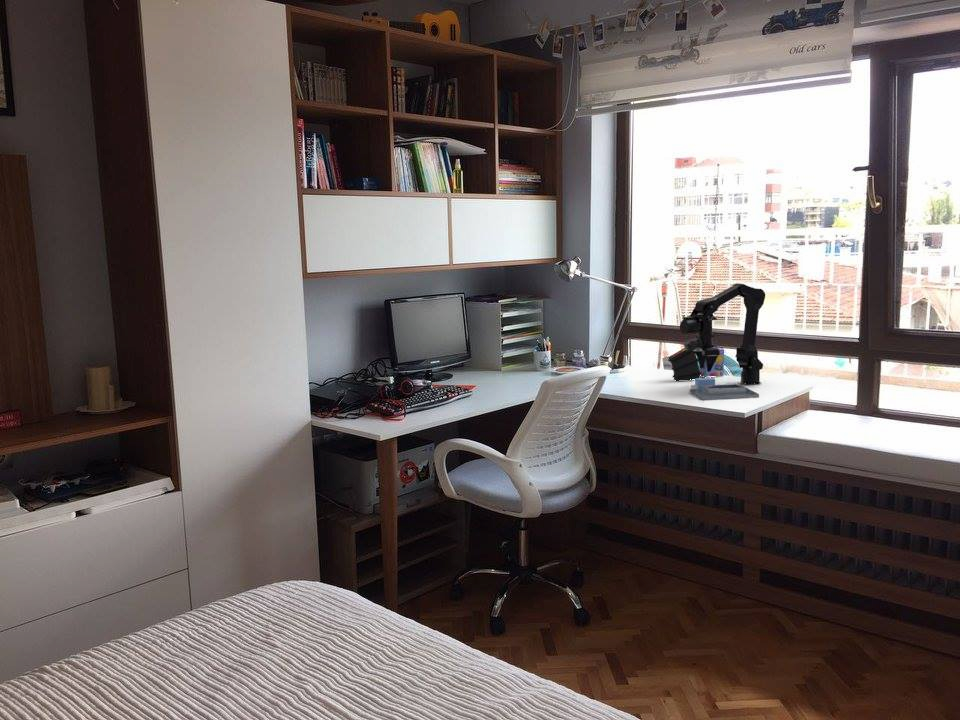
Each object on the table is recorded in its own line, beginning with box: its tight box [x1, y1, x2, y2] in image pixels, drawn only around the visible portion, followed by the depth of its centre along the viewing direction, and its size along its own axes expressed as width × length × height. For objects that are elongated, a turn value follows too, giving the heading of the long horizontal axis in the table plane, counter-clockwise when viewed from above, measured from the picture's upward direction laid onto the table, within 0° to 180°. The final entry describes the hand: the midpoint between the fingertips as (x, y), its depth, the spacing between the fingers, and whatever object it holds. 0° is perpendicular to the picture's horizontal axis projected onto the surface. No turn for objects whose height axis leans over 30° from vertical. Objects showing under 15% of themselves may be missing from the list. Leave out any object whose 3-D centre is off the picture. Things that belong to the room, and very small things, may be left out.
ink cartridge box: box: [698, 343, 725, 377], centre depth 357 cm, size 10×6×14 cm, turn 111°
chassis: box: [689, 383, 760, 401], centre depth 318 cm, size 22×16×3 cm
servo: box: [690, 376, 716, 389], centre depth 330 cm, size 9×4×5 cm, turn 93°
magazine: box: [667, 347, 701, 382], centre depth 351 cm, size 4×13×15 cm, turn 97°
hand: (705, 369), depth 329 cm, fingers open, 9 cm apart
